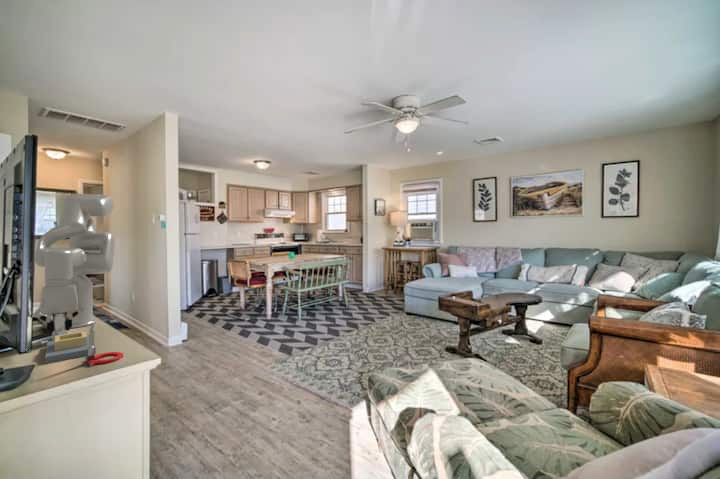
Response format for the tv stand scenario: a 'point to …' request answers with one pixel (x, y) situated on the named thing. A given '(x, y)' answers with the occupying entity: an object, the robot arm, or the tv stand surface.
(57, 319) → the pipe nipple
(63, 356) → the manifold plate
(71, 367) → the tv stand surface
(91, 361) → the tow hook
